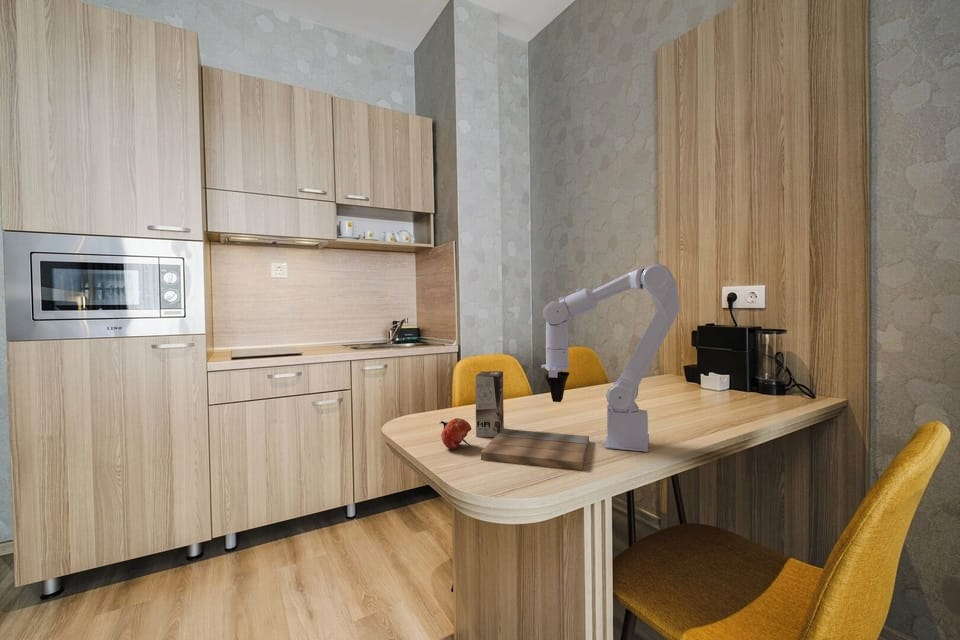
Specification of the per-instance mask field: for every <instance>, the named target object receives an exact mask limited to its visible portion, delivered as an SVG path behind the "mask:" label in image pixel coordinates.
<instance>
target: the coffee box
mask: <svg viewBox="0 0 960 640" xmlns="http://www.w3.org/2000/svg"><path fill="white" fill-rule="evenodd" d="M474 378H475V436H476V437H480V438H482V437H483V438H493V439H494V438H495V437H496V436H497V435H498V434H499V433H500V432H501V431H502V430H504V429H505V426H504V422H505V421H504V418H505V417H504V415H505V413H504V371H503V370H502V371H501V370H500V371H499V370H493V371H492V370H491V371H484V370H483V371H480V372H479V373H478V374H476V375H475V377H474Z"/></svg>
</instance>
